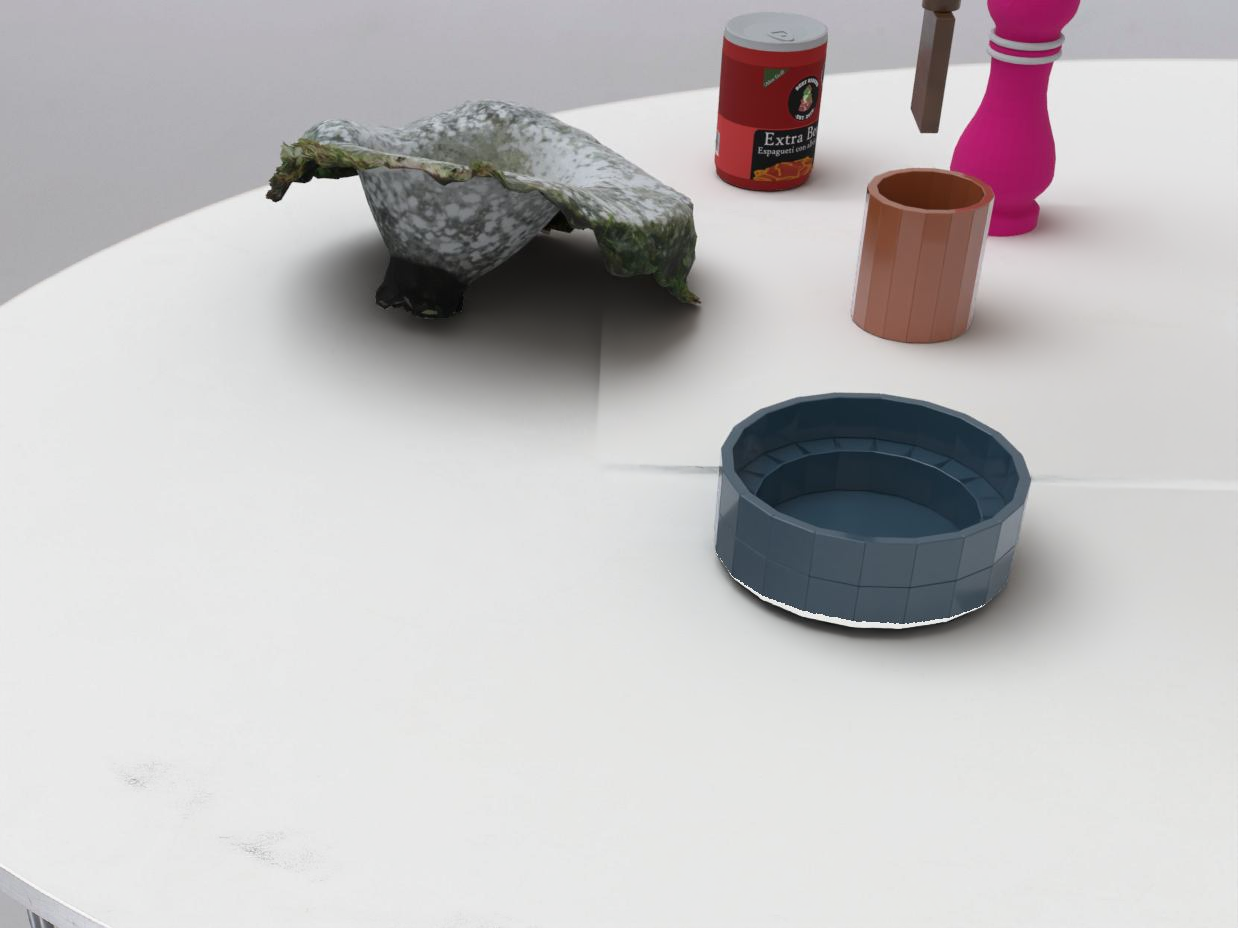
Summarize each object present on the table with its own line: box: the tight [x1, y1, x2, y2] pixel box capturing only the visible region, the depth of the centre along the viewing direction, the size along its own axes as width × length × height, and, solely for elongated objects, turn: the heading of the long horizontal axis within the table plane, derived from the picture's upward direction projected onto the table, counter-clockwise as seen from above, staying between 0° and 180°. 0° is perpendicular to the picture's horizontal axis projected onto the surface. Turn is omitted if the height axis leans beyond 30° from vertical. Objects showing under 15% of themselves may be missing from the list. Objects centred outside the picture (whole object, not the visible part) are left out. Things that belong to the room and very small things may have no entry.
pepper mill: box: [949, 0, 1081, 238], centre depth 114 cm, size 7×7×20 cm
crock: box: [850, 167, 995, 345], centre depth 105 cm, size 8×8×9 cm
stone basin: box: [265, 98, 703, 320], centre depth 107 cm, size 29×30×15 cm
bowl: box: [713, 391, 1032, 624], centre depth 85 cm, size 15×15×6 cm
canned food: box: [714, 11, 829, 192], centre depth 125 cm, size 8×8×11 cm
